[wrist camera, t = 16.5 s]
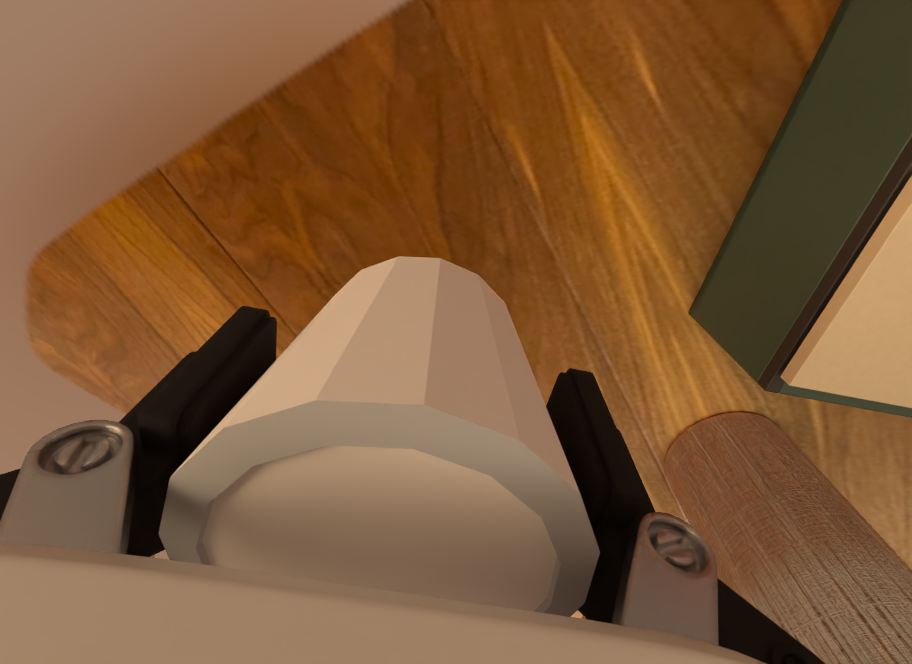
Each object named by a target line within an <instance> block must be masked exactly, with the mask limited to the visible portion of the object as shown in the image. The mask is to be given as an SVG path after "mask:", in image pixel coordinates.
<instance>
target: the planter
mask: <svg viewBox="0 0 912 664" xmlns="http://www.w3.org/2000/svg"><path fill="white" fill-rule="evenodd" d="M665 473H666V476H667V478H668V480H669V483H670V485H671V487H672V490H673V492H674V493H675V495H676V497H677V499H678V501H679V503H680V505H681V507H682V509H683V511H684V513H685V515H686V517H687V519H688V521H689V523H690V525H691V526H692V527H693V528H694V529H696V530H697V531H698V532H699V533H700V534H701V535H702V536H703V537H704V538H705V540H706V541H707V542H708V543H709V545H710V547H711V548H712V550H713V552H714V554H715V557H716V562H717V577H718V579H719V580H721V581H722V582H723V583H725V584H726V585H727V586H728V587H730V588H731V589H732V590H733V591H735V592H736V593H737V594H739V595H740V596H741V597H742V598H744V599H745V600H746V601H748V602H749V603H750V604H751V605H753V606H754V607H755V608H756V609H758V610H759V611H760V612H762V613H763V614H764V615H765V616H767V617H768V618H769V619H770V620H772V621H773V622H774V623H776V624H777V625H778V626H779V627H781V628H782V629H783V630H785V631H786V632H787V633H788V634H790V635H791V636H792V637H793V638H795V639H796V640H797V641H799V642H800V643H801V644H802V645H804V646H805V647H806V648H808V649H809V650H810V651H811V652H813V653H814V654H815V655H816V656H817V657H818V658H819V659H821V660H822V661H823V662H824V663H825V664H912V570H911V569H910V567H909V566H908V565H907V564H906V563H905V562H904V561H903V560H902V559H901V558H900V557H899V556H898V555H897V553H896V552H895V551H894V550H893V549H892V548H891V547H890V546H889V545H888V544H887V543H886V542H885V540H884V539H883V538H882V537H881V536H880V535H879V534H878V533H877V532H876V531H875V530H874V529H873V528H872V526H871V525H870V524H869V523H868V522H867V521H866V520H865V519H864V518H863V517H862V516H861V515H860V513H859V512H858V511H857V510H856V509H855V508H854V507H853V506H852V505H851V504H850V503H849V502H848V500H847V499H846V498H845V497H844V496H843V495H842V494H841V493H840V492H839V491H838V490H837V489H836V488H835V486H834V485H833V484H832V483H831V482H830V481H829V480H828V479H827V478H826V477H825V476H824V475H823V473H822V472H821V471H820V470H819V469H818V468H817V467H816V466H815V465H814V464H813V463H812V462H811V461H810V459H809V458H808V457H807V456H806V455H805V454H804V453H803V452H802V451H801V450H800V449H799V448H798V446H797V445H796V444H795V443H794V442H793V441H792V440H791V439H790V438H789V437H788V436H787V435H786V434H785V433H784V432H783V431H782V430H781V429H780V428H779V427H778V426H777V425H776V424H775V423H774V422H772V421H771V420H769V419H767V418H765V417H763V416H760V415H757V414H753V413H745V412H733V413H725V414H720V415H716V416H713V417H710V418H707V419H705V420H702V421H700V422H698V423H696V424H695V425H693V426H691V427H690V428H688V429H687V430H686V431H684V432H683V433H682V434H681V435H680V436H679V437H678V438H677V439H676V440H675V441H674V442H673V444H672V445H671V447H670V448H669V450H668V453H667V455H666V458H665Z"/></svg>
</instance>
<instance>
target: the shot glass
mask: <svg viewBox="0 0 912 664" xmlns="http://www.w3.org/2000/svg"><path fill="white" fill-rule="evenodd" d="M159 536H160V539H161V541H162V543H163V545H164V548H165V550H166V552H167V555H168V557H169V559H170V560H175V561H182V562H189V563H197V564H204V565H211V566H218V567H226V568H233V569H240V570H247V571H255V572H262V573H269V574H276V575H284V576H291V577H298V578H306V579H313V580H320V581H327V582H334V583H341V584H348V585H355V586H362V587H369V588H376V589H383V590H390V591H397V592H404V593H411V594H418V595H424V596H431V597H438V598H445V599H452V600H459V601H466V602H473V603H479V604H486V605H493V606H500V607H506V608H513V609H520V610H526V611H533V612H540V613H547V614H553V615H560V616H567V617H570V616H572V615H573V614H574V613H575V612H576V611H577V610H578V609H579V608H580V607H581V606H582V605H583V604H584V603H585V600H586V597H587V594H588V590H589V587H590V584H591V581H592V577H593V574H594V571H595V568H596V564H597V561H598V558H599V555H600V551H599V548H598V545H597V542H596V539H595V536H594V533H593V530H592V527H591V524H590V521H589V518H588V515H587V512H586V509H585V506H584V503H583V500H582V497H581V494H580V492H579V489H578V487H577V484H576V482H575V479H574V477H573V474H572V472H571V469H570V467H569V464H568V461H567V459H566V456H565V454H564V451H563V449H562V446H561V444H560V441H559V439H558V436H557V434H556V431H555V429H554V426H553V423H552V421H551V418H550V416H549V413H548V411H547V408H546V406H545V403H544V401H543V398H542V396H541V393H540V391H539V388H538V385H537V383H536V380H535V378H534V375H533V373H532V370H531V368H530V365H529V363H528V360H527V358H526V355H525V353H524V350H523V347H522V345H521V342H520V340H519V337H518V335H517V332H516V330H515V327H514V325H513V322H512V320H511V317H510V315H509V312H508V309H507V307H506V304H505V302H504V301H503V300H502V299H501V298H500V297H499V296H498V295H497V294H496V293H495V292H494V291H493V290H492V289H491V288H490V286H489V285H488V284H487V283H486V282H485V281H484V280H483V279H482V278H481V277H480V276H479V275H478V274H475V273H473V272H471V271H469V270H466V269H464V268H462V267H459V266H457V265H455V264H453V263H450V262H448V261H446V260H444V259H441V258H425V257H401V256H399V257H396V258H393V259H390V260H387V261H384V262H382V263H379V264H376V265H373V266H370V267H368V268H365V269H362V270H360V271H359V272H358V273H357V274H356V275H355V276H354V277H353V278H352V279H351V280H350V281H349V282H348V283H347V284H346V285H345V286H344V287H343V288H342V289H341V290H340V291H339V292H338V293H336V294H335V295H334V297H333V298H332V299H331V300H330V301H329V302H328V303H327V304H326V305H325V307H324V308H323V309H322V310H321V311H320V312H319V313H318V314H317V315H316V316H315V318H314V319H313V320H312V321H311V322H310V323H309V324H308V325H307V326H306V328H305V329H304V330H303V331H302V332H301V333H300V334H299V335H298V336H297V337H296V339H295V340H294V341H293V342H292V343H291V344H290V345H289V346H288V347H287V349H286V350H285V351H284V352H283V353H282V354H281V355H280V356H279V357H278V358H277V360H276V361H275V362H274V363H273V364H272V365H271V366H270V367H269V368H268V370H267V371H266V372H265V373H264V374H263V375H262V376H261V377H260V378H259V379H258V381H257V382H256V383H255V384H254V385H253V386H252V387H251V388H250V389H249V391H248V392H247V393H246V394H245V395H244V396H243V397H242V398H241V399H240V400H239V402H238V403H237V404H236V405H235V406H234V407H233V408H232V409H231V410H230V412H229V413H228V414H227V415H226V416H225V417H224V418H223V419H222V420H221V422H220V423H219V424H218V425H217V426H216V427H215V428H214V429H213V430H212V431H211V433H210V434H209V435H208V436H207V437H206V438H205V439H204V440H203V441H202V443H201V444H200V445H199V446H198V447H197V448H196V449H195V450H194V451H193V452H192V454H191V455H190V456H189V457H188V458H187V459H186V460H185V461H184V462H183V464H182V465H181V466H180V467H179V468H178V469H177V470H176V471H175V472H174V473H173V475H172V476H171V477H170V480H169V485H168V490H167V494H166V499H165V504H164V509H163V514H162V519H161V524H160V529H159Z"/></svg>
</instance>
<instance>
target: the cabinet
mask: <svg viewBox="0 0 912 664" xmlns="http://www.w3.org/2000/svg"><path fill="white" fill-rule="evenodd" d="M911 175H912V0H843V2H842V4H841V6H840V8H839V10H838V12H837V14H836V16H835V18H834V20H833V22H832V24H831V26H830V28H829V30H828V32H827V34H826V36H825V38H824V40H823V42H822V44H821V46H820V48H819V50H818V53H817V55H816V57H815V59H814V61H813V63H812V65H811V67H810V69H809V71H808V73H807V75H806V77H805V79H804V81H803V83H802V85H801V87H800V89H799V91H798V93H797V95H796V97H795V99H794V101H793V103H792V105H791V107H790V109H789V111H788V113H787V115H786V117H785V119H784V121H783V123H782V125H781V127H780V129H779V131H778V133H777V135H776V137H775V139H774V141H773V143H772V145H771V147H770V149H769V151H768V153H767V155H766V157H765V159H764V161H763V164H762V166H761V168H760V170H759V172H758V174H757V176H756V178H755V180H754V182H753V184H752V186H751V188H750V190H749V192H748V194H747V196H746V198H745V200H744V202H743V204H742V206H741V208H740V210H739V212H738V214H737V216H736V218H735V220H734V222H733V224H732V226H731V228H730V230H729V232H728V234H727V236H726V238H725V240H724V242H723V244H722V246H721V248H720V250H719V252H718V254H717V256H716V258H715V260H714V262H713V264H712V266H711V268H710V270H709V272H708V275H707V277H706V279H705V281H704V283H703V285H702V287H701V289H700V291H699V293H698V295H697V297H696V299H695V301H694V303H693V305H692V307H691V309H690V311H689V315H690V316H691V317H692V318H694V319H695V320H696V321H697V322H698V323H699V324H700V325H701V326H702V327H703V328H704V329H705V330H706V331H707V332H708V334H709V335H710V336H711V337H712V338H713V339H714V340H715V341H716V342H717V343H718V344H719V345H720V346H721V347H722V348H723V349H724V350H725V351H726V352H727V353H728V354H729V355H730V356H731V357H732V358H733V359H734V360H735V361H736V362H737V363H738V364H739V365H740V366H741V367H742V368H743V369H744V370H745V371H746V372H747V373H748V374H749V375H750V376H751V377H752V378H753V379H754V380H755V381H756V382H758V384H759V385H760V386H761V387H762V388H763V389H764V390H765V391H770V392H775V393H781V394H786V395H792V396H797V397H803V398H808V399H814V400H819V401H824V402H830V403H835V404H841V405H846V406H852V407H857V408H862V409H868V410H873V411H879V412H884V413H890V414H895V415H901V416H906V417H911V418H912V408H908V407H903V406H897V405H892V404H886V403H881V402H876V401H870V400H865V399H860V398H854V397H849V396H843V395H838V394H833V393H827V392H822V391H816V390H811V389H806V388H800V387H795V386H790V385H788V384H787V383H786V382H785V381H784V380H783V379H782V378H781V377H780V376H781V375H782V373H783V372H784V370H785V369H786V367H787V365H788V364H789V362H790V361H791V359H792V358H793V356H794V355H795V353H796V352H797V350H798V349H799V347H800V346H801V344H802V342H803V341H804V339H805V338H806V336H807V335H808V333H809V332H810V330H811V329H812V327H813V326H814V324H815V323H816V321H817V319H818V318H819V316H820V315H821V313H822V312H823V310H824V309H825V307H826V306H827V304H828V303H829V301H830V300H831V298H832V297H833V295H834V293H835V292H836V290H837V289H838V287H839V286H840V284H841V283H842V281H843V280H844V278H845V277H846V275H847V274H848V272H849V270H850V269H851V267H852V266H853V264H854V263H855V261H856V260H857V258H858V257H859V255H860V254H861V252H862V251H863V249H864V247H865V246H866V244H867V243H868V241H869V240H870V238H871V237H872V235H873V234H874V232H875V231H876V229H877V228H878V226H879V225H880V223H881V221H882V220H883V218H884V217H885V215H886V214H887V212H888V211H889V209H890V208H891V206H892V205H893V203H894V202H895V200H896V198H897V197H898V195H899V194H900V192H901V191H902V189H903V188H904V186H905V185H906V183H907V182H908V180H909V179H910V177H911Z"/></svg>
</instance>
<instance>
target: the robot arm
mask: <svg viewBox="0 0 912 664" xmlns="http://www.w3.org/2000/svg"><path fill="white" fill-rule="evenodd" d="M276 333H277V321H276V319H275V318H273V317H270V314H269V312H268V311H267V310H263V309H258V308H253V307H247V306H242V307H241V308H239V309H238V310H237V311H236V313H235V314H234V315H233V316H232V317H231V318H230V319H229V320H228V321H227V322H226V323H225V324H224V325H223V326H222V327H221V328H220V329H219V330H218V331H217V332H216V333H215V334H214V335H213V336H212V337H211V338H210V339H209V340H208V341H207V342H206V343H205V344H204V345H203V346H202V347H201V348H200V349H199V350H198V351H197V352H191V353H189V354H188V355H187V356H185V357H184V358H183V359H182V360H181V361H180V362H179V363H178V364H177V365H176V366H175V367H174V368H173V369H172V370H171V371H170V372H169V373H168V374H167V375H166V376H165V377H164V378H163V379H162V380H161V381H160V382H159V383H158V384H157V385H156V386H155V387H154V388H153V389H152V390H151V391H150V392H149V393H148V394H147V395H146V396H145V397H144V398H143V399H142V400H141V401H140V402H139V403H138V404H137V405H136V406H135V407H134V408H133V409H132V410H131V411H130V412H129V413H128V414H127V415H126V416H125V417H124V418H123V419H122V420H121V421H120V422H114V421H108V420H89V421H84V422H79V423H74V424H70V425H68V426H65V427H62V428H59V429H57V430H55V431H53V432H51V433H49V434H48V435H46V436H44V437H42V438H41V439H40V440H39V441H38V442H37V443H35V444H34V445H33V446H32V447H31V449H30V450H29V452H28V453H27V455H26V456H25V459H24V462H23V464H22V467H21V469H18V470H14V471H11V472H8V473H5V474H1V475H0V664H825V663H824V662H823V661H822V660H821V659H819V658H818V657H817V656H816V655H815V654H814V653H813V652H811V651H810V650H809V649H808V648H806V647H805V646H804V645H802V644H801V643H800V642H799V641H797V640H796V639H795V638H793V637H792V636H791V635H790V634H788V633H787V632H786V631H785V630H783V629H782V628H781V627H779V626H778V625H777V624H776V623H774V622H773V621H772V620H770V619H769V618H768V617H767V616H765V615H764V614H763V613H762V612H760V611H759V610H758V609H756V608H755V607H754V606H753V605H751V604H750V603H749V602H748V601H746V600H745V599H744V598H742V597H741V596H740V595H739V594H737V593H736V592H735V591H733V590H732V589H731V588H730V587H728V586H727V585H726V584H725V583H723V582H722V581H721V580H719V579H718V578H717V562H716V557H715V554H714V552H713V550H712V548H711V547H710V545H709V543H708V542H707V541H706V540H705V538H704V537H703V536H702V535H701V534H700V533H699V532H698V531H697V530H696V529H694V528H693V527H692V526H691V525H690V524H688V523H686V522H685V521H683V520H682V519H680V518H678V517H675V516H673V515H670V514H667V513H661V512H655V510H654V508H653V505H652V503H651V501H650V499H649V496H648V494H647V492H646V489H645V487H644V485H643V483H642V480H641V478H640V476H639V473H638V471H637V469H636V467H635V464H634V462H633V460H632V457H631V455H630V453H629V451H628V448H627V446H626V444H625V441H624V439H623V437H622V435H621V433H620V431H619V430H618V429H617V428H616V426H615V424H614V421H613V419H612V417H611V414H610V412H609V410H608V407H607V405H606V403H605V400H604V398H603V396H602V393H601V391H600V389H599V386H598V384H597V382H596V379H595V377H594V375H593V373H591V372H587V371H581V370H576V369H571V368H570V369H568V370H567V372H566V373H562V372H561V373H560V374H559V375H558V378H557V380H556V383H555V385H554V388H553V390H552V393H551V395H550V398H549V401H548V403H547V406H546V408H547V411H548V413H549V416H550V418H551V421H552V423H553V426H554V429H555V431H556V434H557V436H558V439H559V441H560V444H561V446H562V449H563V451H564V454H565V456H566V459H567V461H568V464H569V467H570V469H571V472H572V474H573V477H574V479H575V482H576V484H577V487H578V489H579V492H580V494H581V497H582V500H583V503H584V506H585V509H586V512H587V515H588V518H589V521H590V524H591V527H592V530H593V533H594V536H595V539H596V542H597V545H598V548H599V551H600V555H599V558H598V561H597V564H596V568H595V571H594V574H593V577H592V581H591V584H590V587H589V590H588V594H587V597H586V600H585V603H584V604H583V605H582V606H581V607H580V608H579V609H578V610H579V611H580V612H581V613H582V614H583V617H582V619H580V618H573V617H567V616H560V615H553V614H547V613H540V612H533V611H526V610H520V609H513V608H506V607H500V606H493V605H486V604H479V603H473V602H466V601H459V600H452V599H445V598H438V597H431V596H424V595H418V594H411V593H404V592H397V591H390V590H383V589H376V588H369V587H362V586H355V585H348V584H341V583H334V582H327V581H320V580H313V579H306V578H298V577H291V576H284V575H276V574H269V573H262V572H255V571H247V570H240V569H233V568H226V567H218V566H211V565H204V564H197V563H189V562H182V561H175V560H167V559H158V558H154V556H155V554H156V553H159V552H160V551H163V550H165V548H164V545H163V543H162V541H161V539H160V536H159V529H160V524H161V519H162V514H163V509H164V504H165V499H166V494H167V490H168V485H169V480H170V477H171V476H172V475H173V473H174V472H175V471H176V470H177V469H178V468H179V467H180V466H181V465H182V464H183V462H184V461H185V460H186V459H187V458H188V457H189V456H190V455H191V454H192V452H193V451H194V450H195V449H196V448H197V447H198V446H199V445H200V444H201V443H202V441H203V440H204V439H205V438H206V437H207V436H208V435H209V434H210V433H211V431H212V430H213V429H214V428H215V427H216V426H217V425H218V424H219V423H220V422H221V420H222V419H223V418H224V417H225V416H226V415H227V414H228V413H229V412H230V410H231V409H232V408H233V407H234V406H235V405H236V404H237V403H238V402H239V400H240V399H241V398H242V397H243V396H244V395H245V394H246V393H247V392H248V391H249V389H250V388H251V387H252V386H253V385H254V384H255V383H256V382H257V381H258V379H259V378H260V377H261V376H262V375H263V374H264V373H265V372H266V371H267V370H268V368H269V367H270V366H271V365H272V364H273V363H274V362H275V361H276Z"/></svg>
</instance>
